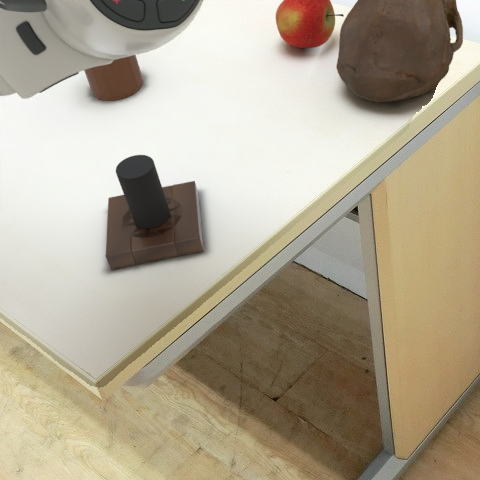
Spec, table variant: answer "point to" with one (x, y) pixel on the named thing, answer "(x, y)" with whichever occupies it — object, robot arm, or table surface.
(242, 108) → the table surface
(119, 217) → the dark brown square mat
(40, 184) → the table surface
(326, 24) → the apple
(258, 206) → the table surface
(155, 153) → the table surface
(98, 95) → the bottle
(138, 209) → the cylinder
